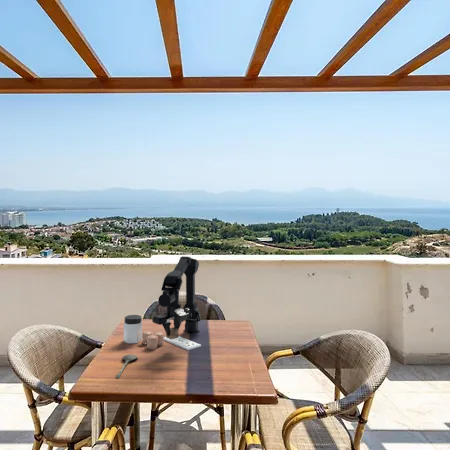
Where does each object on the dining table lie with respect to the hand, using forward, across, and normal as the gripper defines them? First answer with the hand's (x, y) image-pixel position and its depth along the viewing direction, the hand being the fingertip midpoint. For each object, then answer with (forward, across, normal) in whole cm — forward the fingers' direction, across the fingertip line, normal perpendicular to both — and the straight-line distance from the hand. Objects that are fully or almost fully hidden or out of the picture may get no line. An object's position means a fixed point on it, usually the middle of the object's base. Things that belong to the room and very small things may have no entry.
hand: (172, 335), depth 176 cm
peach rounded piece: (+7, -3, +16) cm, 18 cm away
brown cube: (+1, 0, 0) cm, 1 cm away
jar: (+7, -7, +23) cm, 25 cm away
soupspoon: (+8, -25, -2) cm, 27 cm away
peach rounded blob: (+7, -5, +9) cm, 12 cm away
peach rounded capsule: (+7, 0, +11) cm, 13 cm away
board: (+7, +9, +5) cm, 13 cm away
